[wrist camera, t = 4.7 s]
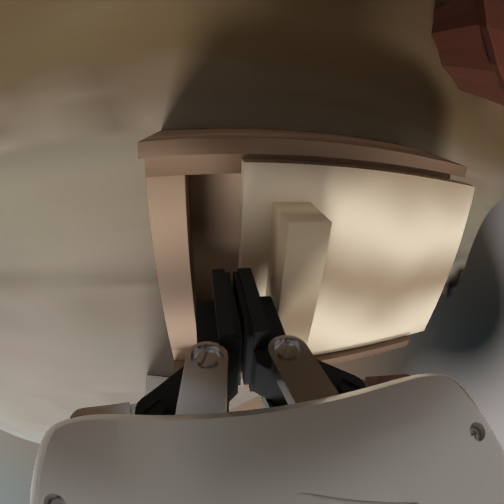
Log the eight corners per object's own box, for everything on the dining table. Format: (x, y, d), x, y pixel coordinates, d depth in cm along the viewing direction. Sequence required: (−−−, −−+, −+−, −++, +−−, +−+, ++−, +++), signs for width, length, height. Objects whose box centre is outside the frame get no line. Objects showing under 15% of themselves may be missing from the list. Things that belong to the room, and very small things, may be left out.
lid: (241, 158, 11) (255, 174, 8) (466, 182, 13) (500, 199, 11) (236, 354, 16) (244, 395, 14) (418, 324, 19) (439, 349, 16)
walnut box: (160, 130, 14) (137, 142, 9) (403, 145, 17) (466, 167, 12) (177, 315, 20) (175, 382, 15) (369, 297, 23) (406, 345, 18)
